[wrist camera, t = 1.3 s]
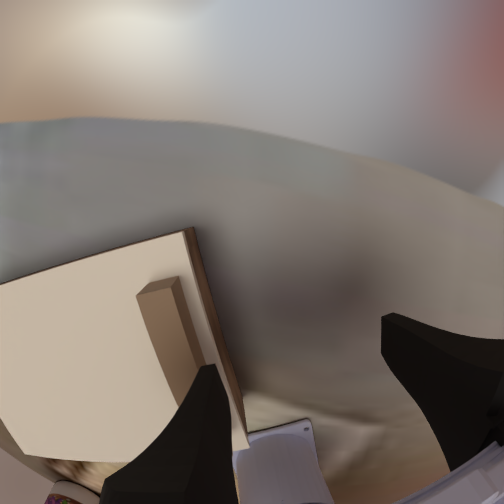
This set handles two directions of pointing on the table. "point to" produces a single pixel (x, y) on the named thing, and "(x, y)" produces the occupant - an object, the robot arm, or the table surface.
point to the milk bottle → (71, 494)
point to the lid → (104, 352)
